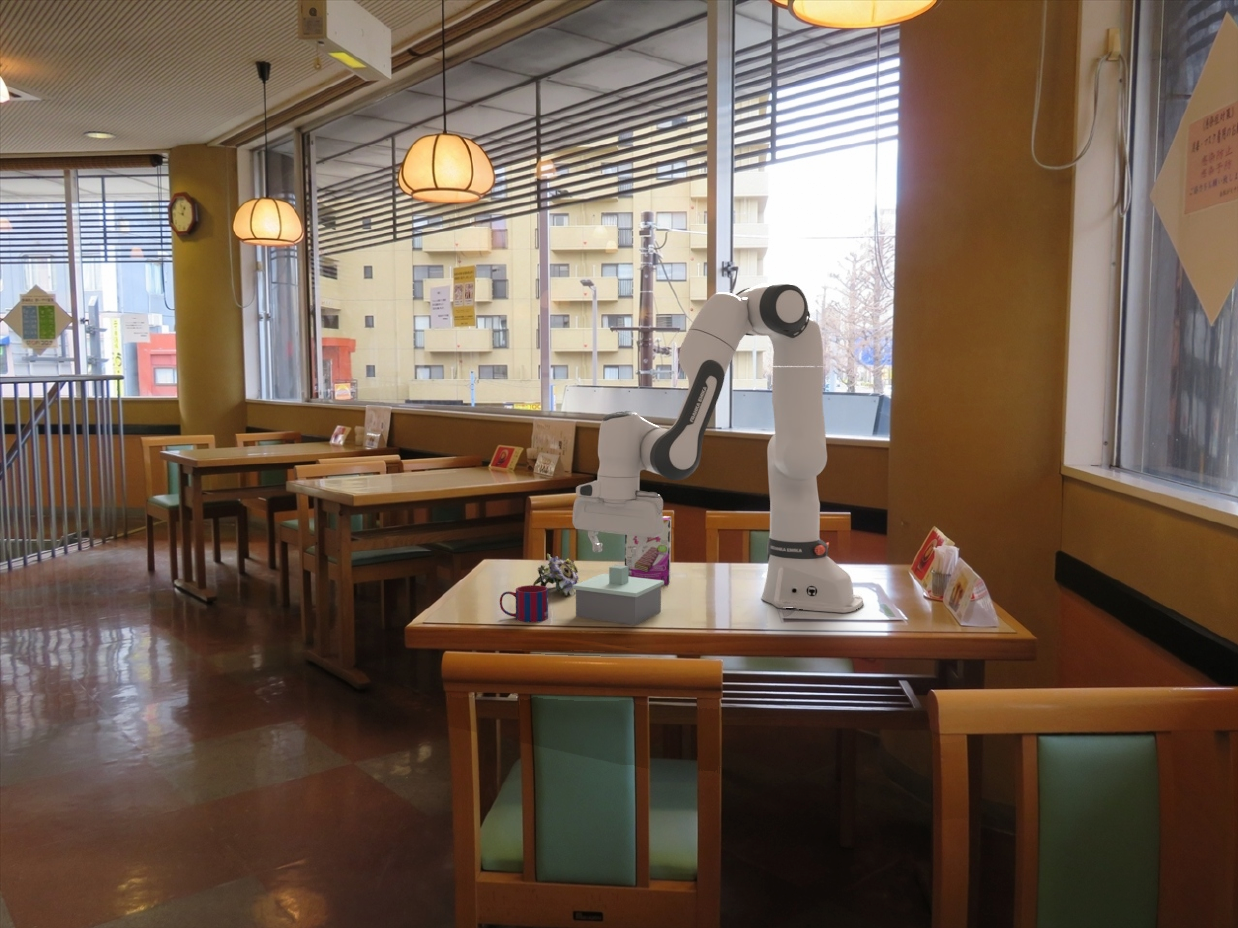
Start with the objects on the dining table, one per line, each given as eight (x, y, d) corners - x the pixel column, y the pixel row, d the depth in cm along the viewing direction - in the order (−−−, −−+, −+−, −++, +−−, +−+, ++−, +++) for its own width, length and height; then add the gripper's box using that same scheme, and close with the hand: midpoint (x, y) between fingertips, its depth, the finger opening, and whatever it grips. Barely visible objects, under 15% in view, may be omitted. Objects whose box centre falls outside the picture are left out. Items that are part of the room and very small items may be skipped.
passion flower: (570, 620, 219) (570, 585, 211) (525, 609, 221) (524, 574, 213) (584, 584, 227) (585, 550, 219) (541, 574, 229) (540, 540, 221)
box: (660, 614, 203) (660, 584, 202) (635, 627, 192) (635, 596, 192) (603, 606, 210) (603, 577, 209) (575, 619, 199) (575, 588, 198)
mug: (546, 625, 195) (546, 592, 194) (498, 624, 195) (497, 592, 194) (549, 616, 201) (549, 585, 201) (502, 616, 201) (502, 585, 201)
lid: (664, 589, 203) (664, 564, 202) (636, 602, 191) (636, 576, 191) (602, 582, 210) (602, 557, 209) (572, 594, 198) (572, 568, 198)
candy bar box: (624, 584, 231) (624, 517, 230) (626, 579, 236) (626, 514, 235) (670, 585, 230) (670, 518, 229) (670, 580, 235) (671, 515, 234)
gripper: (669, 491, 196) (667, 557, 198) (584, 483, 206) (583, 546, 207) (656, 494, 191) (654, 562, 192) (569, 486, 200) (568, 551, 202)
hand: (616, 554), depth 200 cm, fingers open, 8 cm apart
